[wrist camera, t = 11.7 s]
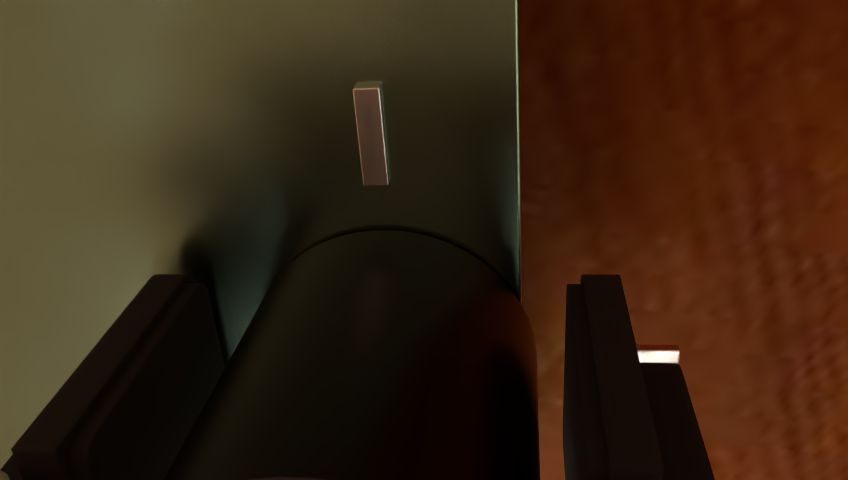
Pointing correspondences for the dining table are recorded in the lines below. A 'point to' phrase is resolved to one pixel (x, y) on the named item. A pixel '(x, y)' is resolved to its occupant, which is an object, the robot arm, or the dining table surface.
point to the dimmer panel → (237, 156)
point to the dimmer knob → (375, 372)
